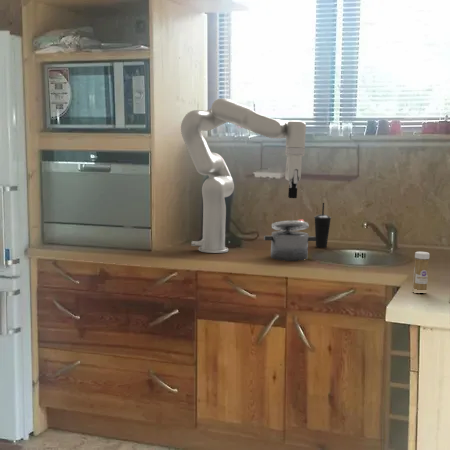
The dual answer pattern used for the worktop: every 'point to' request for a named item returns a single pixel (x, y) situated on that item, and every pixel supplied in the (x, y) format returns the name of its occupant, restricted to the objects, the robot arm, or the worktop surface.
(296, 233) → the cooker pot
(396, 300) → the worktop surface
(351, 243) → the worktop surface
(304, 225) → the lid
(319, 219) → the drinking cup
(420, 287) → the sprinkles bottle
